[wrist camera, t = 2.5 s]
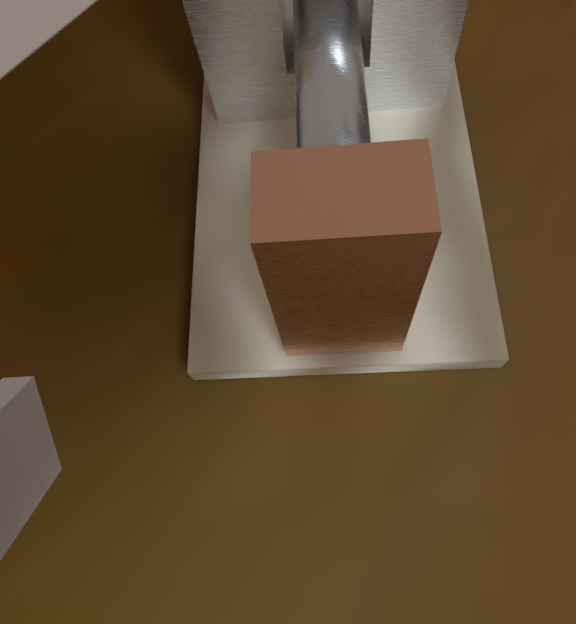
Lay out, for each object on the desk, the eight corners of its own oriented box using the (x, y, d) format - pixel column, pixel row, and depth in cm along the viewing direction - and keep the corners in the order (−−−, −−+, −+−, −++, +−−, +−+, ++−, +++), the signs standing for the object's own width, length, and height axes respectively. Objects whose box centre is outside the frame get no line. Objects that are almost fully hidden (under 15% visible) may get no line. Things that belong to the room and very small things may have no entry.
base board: (437, 4, 32) (441, -15, 31) (501, 367, 24) (509, 359, 23) (212, 26, 34) (207, 8, 32) (194, 379, 25) (187, 373, 24)
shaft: (370, 51, 29) (384, -166, 20) (401, 350, 23) (442, 231, 14) (281, 59, 30) (254, -151, 21) (286, 356, 23) (249, 243, 14)
